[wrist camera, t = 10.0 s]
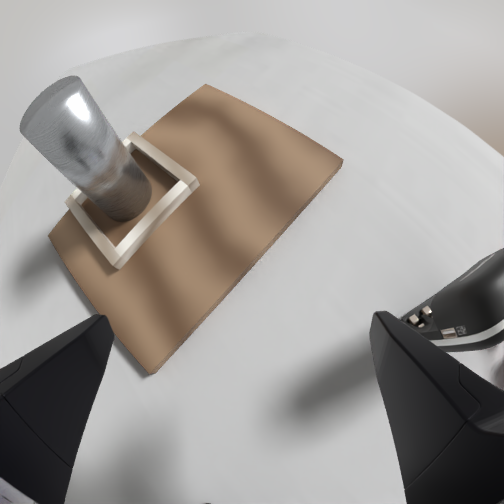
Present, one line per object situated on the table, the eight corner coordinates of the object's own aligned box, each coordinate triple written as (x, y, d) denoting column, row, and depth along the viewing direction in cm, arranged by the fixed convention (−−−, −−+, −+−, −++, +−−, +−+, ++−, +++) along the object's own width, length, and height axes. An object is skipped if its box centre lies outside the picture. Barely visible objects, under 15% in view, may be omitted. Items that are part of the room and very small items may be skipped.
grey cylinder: (136, 228, 24) (45, 137, 12) (97, 214, 25) (9, 133, 13) (161, 179, 26) (95, 73, 13) (121, 170, 26) (52, 78, 14)
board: (155, 373, 21) (142, 374, 19) (54, 239, 26) (40, 231, 24) (341, 167, 26) (345, 151, 23) (207, 91, 31) (203, 76, 28)
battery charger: (448, 275, 21) (532, 224, 11) (465, 313, 20) (556, 281, 9) (388, 314, 21) (469, 281, 10) (407, 355, 20) (497, 352, 9)
